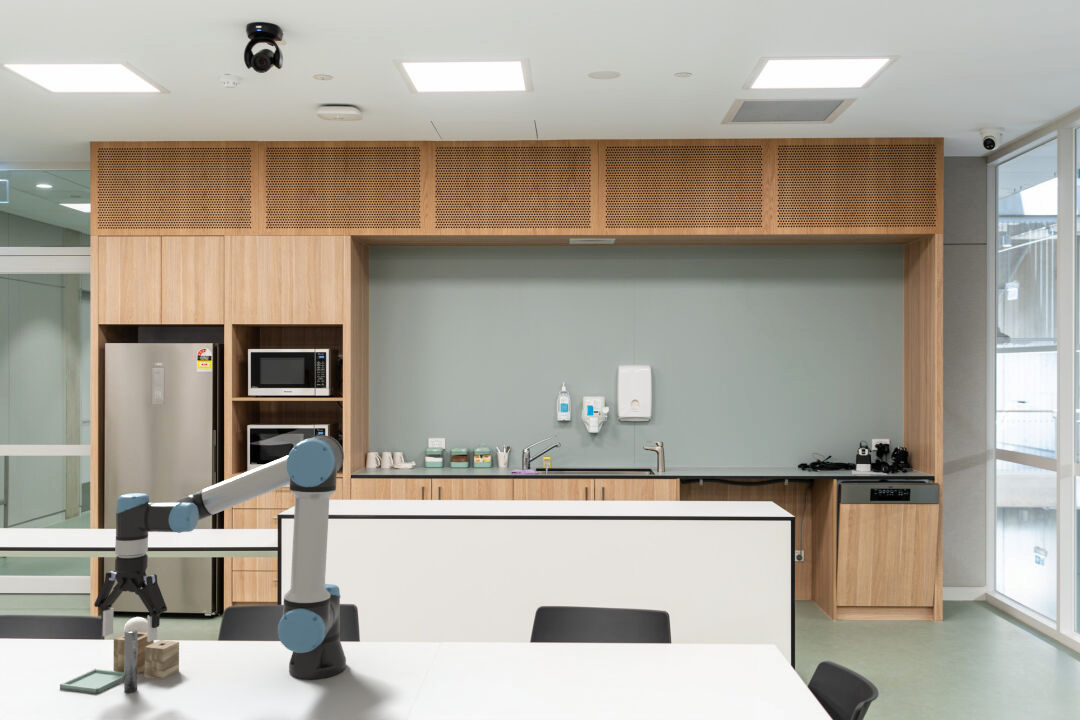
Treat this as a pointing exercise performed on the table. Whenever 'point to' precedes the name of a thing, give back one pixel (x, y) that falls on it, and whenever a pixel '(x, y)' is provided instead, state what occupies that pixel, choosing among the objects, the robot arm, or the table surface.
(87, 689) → the tray
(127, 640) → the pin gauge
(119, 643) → the wide-bore block
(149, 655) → the narrow-bore block
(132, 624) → the light bulb
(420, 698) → the table surface
